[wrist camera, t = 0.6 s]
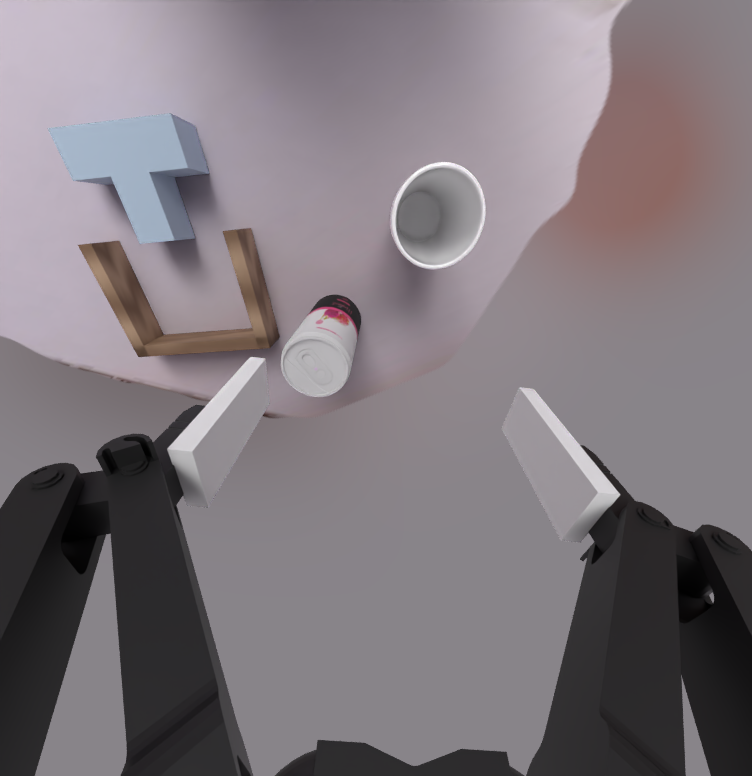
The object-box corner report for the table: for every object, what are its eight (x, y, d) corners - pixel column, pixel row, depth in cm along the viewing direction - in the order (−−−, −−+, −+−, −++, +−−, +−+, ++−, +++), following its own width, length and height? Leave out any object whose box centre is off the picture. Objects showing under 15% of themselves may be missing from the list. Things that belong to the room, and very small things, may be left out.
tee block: (85, 138, 31) (47, 128, 27) (195, 125, 30) (170, 113, 27) (132, 244, 36) (105, 246, 32) (227, 235, 35) (210, 237, 32)
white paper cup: (423, 261, 36) (444, 288, 23) (376, 227, 34) (372, 236, 21) (460, 207, 33) (508, 203, 20) (411, 166, 31) (430, 133, 18)
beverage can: (341, 283, 38) (319, 320, 25) (370, 325, 40) (363, 378, 27) (302, 311, 40) (263, 358, 27) (332, 349, 42) (310, 409, 29)
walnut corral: (107, 241, 36) (77, 245, 32) (251, 228, 35) (236, 229, 31) (158, 345, 43) (138, 357, 39) (279, 336, 41) (270, 348, 38)
